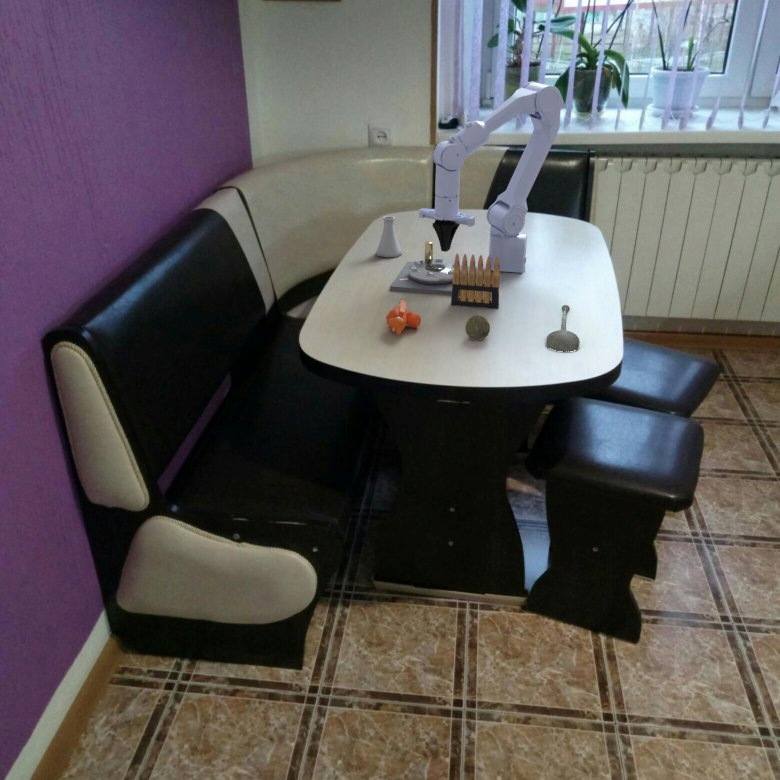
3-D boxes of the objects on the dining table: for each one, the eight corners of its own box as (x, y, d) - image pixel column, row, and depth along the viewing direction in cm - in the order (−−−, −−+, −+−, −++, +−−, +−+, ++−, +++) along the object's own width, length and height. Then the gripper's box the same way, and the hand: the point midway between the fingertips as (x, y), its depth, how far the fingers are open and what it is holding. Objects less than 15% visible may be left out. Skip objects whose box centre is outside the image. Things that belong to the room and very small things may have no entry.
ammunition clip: (450, 305, 165) (452, 254, 159) (452, 302, 166) (453, 251, 160) (498, 309, 162) (501, 257, 157) (499, 306, 164) (502, 254, 158)
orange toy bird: (393, 291, 157) (388, 313, 147) (425, 302, 158) (423, 325, 147) (386, 311, 160) (380, 334, 149) (418, 322, 160) (415, 346, 150)
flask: (399, 258, 193) (399, 221, 188) (373, 257, 194) (372, 220, 189) (404, 250, 199) (404, 214, 194) (379, 249, 201) (378, 213, 196)
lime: (492, 340, 148) (493, 318, 146) (471, 344, 147) (472, 321, 144) (482, 332, 152) (483, 309, 149) (461, 335, 150) (462, 313, 148)
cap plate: (476, 270, 184) (476, 266, 184) (465, 296, 169) (465, 291, 169) (407, 265, 188) (407, 261, 188) (390, 290, 173) (390, 285, 173)
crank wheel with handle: (469, 281, 174) (470, 254, 171) (417, 287, 171) (417, 259, 168) (451, 263, 185) (451, 238, 182) (402, 269, 182) (402, 243, 179)
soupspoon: (543, 355, 144) (577, 360, 143) (545, 340, 142) (580, 345, 141) (550, 309, 162) (580, 313, 161) (553, 295, 161) (583, 299, 159)
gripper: (412, 194, 173) (412, 249, 180) (465, 202, 166) (463, 259, 173) (428, 188, 179) (427, 242, 185) (480, 196, 171) (477, 251, 178)
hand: (445, 250), depth 179 cm, fingers closed
